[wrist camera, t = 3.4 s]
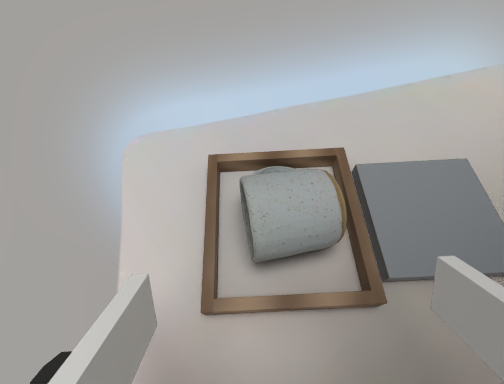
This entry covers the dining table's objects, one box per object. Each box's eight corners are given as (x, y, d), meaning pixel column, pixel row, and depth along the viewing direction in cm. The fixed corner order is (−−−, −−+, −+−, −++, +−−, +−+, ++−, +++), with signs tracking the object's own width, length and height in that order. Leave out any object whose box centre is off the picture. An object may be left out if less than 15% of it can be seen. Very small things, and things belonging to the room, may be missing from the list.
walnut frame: (339, 158, 31) (343, 147, 29) (377, 306, 23) (387, 303, 21) (211, 165, 31) (208, 154, 29) (205, 315, 23) (200, 312, 21)
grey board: (457, 166, 30) (466, 158, 29) (515, 274, 24) (530, 270, 23) (351, 172, 30) (355, 164, 29) (382, 281, 24) (389, 278, 23)
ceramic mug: (337, 255, 25) (364, 221, 19) (254, 273, 25) (251, 245, 18) (303, 168, 31) (315, 118, 24) (234, 181, 30) (227, 133, 24)
